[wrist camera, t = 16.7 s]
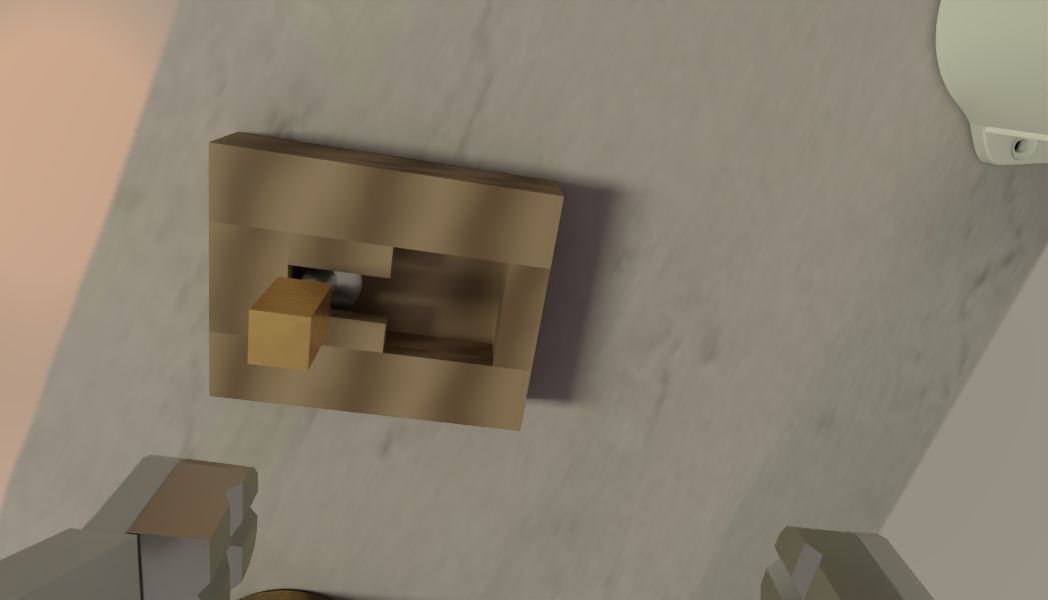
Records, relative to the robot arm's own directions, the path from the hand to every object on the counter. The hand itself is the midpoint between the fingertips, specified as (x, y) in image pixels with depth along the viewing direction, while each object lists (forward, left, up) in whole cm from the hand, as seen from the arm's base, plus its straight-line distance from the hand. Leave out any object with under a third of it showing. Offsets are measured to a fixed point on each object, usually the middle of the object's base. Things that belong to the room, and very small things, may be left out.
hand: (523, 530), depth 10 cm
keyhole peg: (+10, +9, -33) cm, 36 cm away
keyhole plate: (+6, +9, -34) cm, 36 cm away
